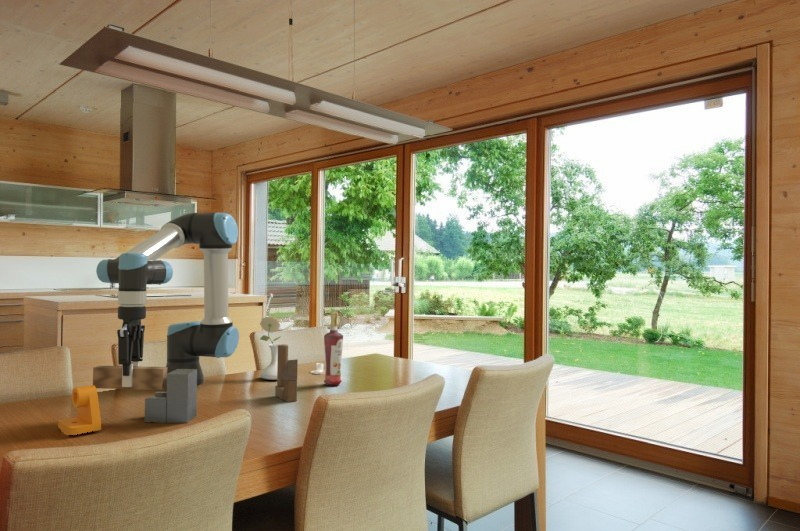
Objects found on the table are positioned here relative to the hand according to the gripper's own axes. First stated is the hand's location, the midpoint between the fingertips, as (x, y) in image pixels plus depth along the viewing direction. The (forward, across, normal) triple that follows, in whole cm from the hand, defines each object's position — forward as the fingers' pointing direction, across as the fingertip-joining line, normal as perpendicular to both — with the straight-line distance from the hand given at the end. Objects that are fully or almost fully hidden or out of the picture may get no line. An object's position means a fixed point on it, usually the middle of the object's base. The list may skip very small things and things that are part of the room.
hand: (130, 385), depth 168 cm
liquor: (+10, -50, +55) cm, 75 cm away
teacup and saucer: (+10, -74, +44) cm, 87 cm away
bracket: (+10, +13, -8) cm, 18 cm away
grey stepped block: (+10, 0, +12) cm, 15 cm away
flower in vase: (+10, -60, +30) cm, 68 cm away
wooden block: (+10, -27, +41) cm, 50 cm away
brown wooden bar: (+1, 0, 0) cm, 1 cm away
